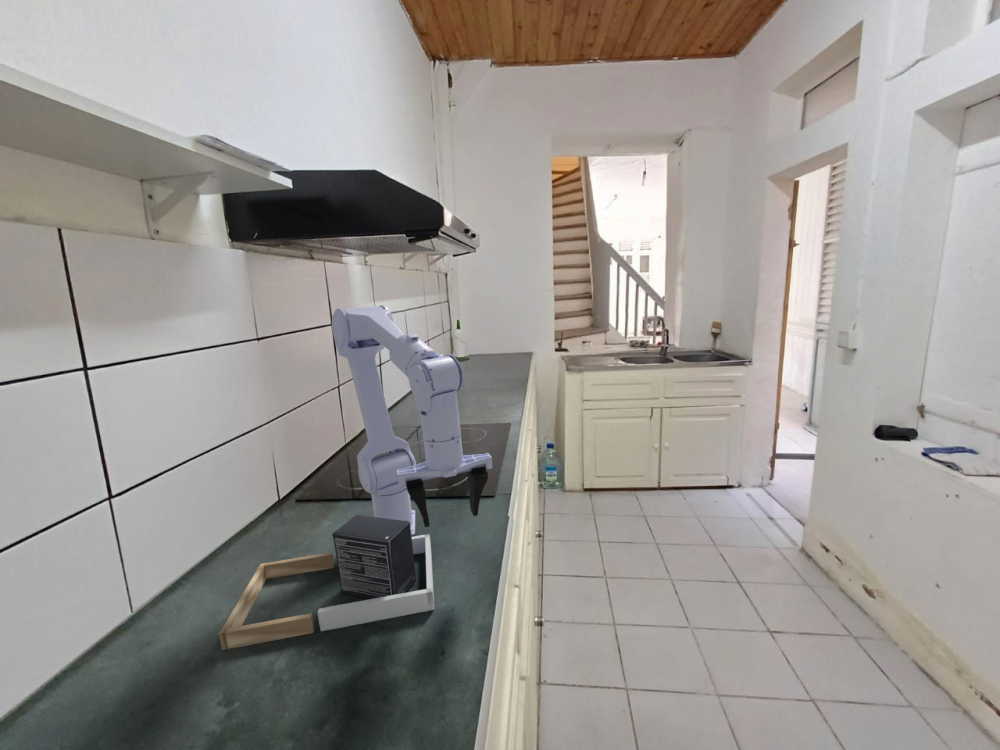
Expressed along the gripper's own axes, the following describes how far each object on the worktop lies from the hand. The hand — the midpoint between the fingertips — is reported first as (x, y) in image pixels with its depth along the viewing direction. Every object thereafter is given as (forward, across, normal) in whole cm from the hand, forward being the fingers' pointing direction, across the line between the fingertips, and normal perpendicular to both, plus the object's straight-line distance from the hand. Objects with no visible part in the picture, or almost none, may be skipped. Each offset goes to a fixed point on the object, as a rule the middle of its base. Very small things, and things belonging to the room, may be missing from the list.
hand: (450, 518), depth 67 cm
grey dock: (+10, -12, +3) cm, 16 cm away
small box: (+11, -12, +3) cm, 16 cm away
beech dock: (+10, -26, +5) cm, 28 cm away
